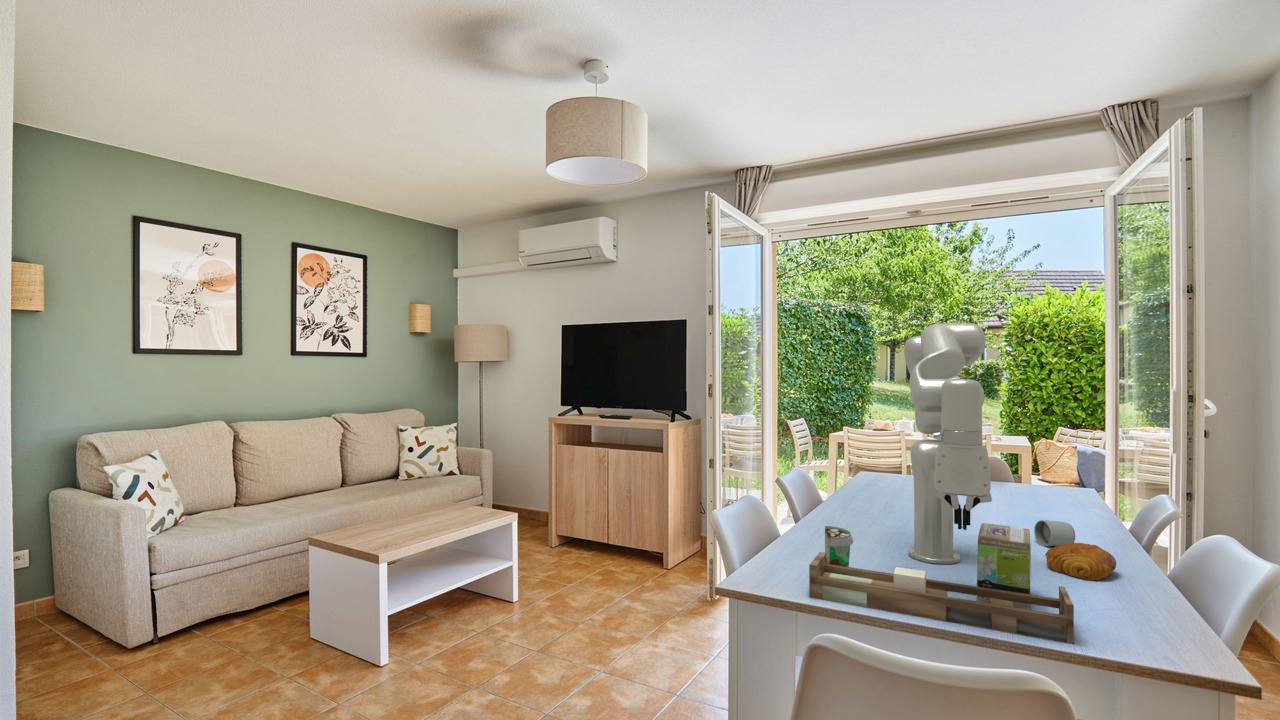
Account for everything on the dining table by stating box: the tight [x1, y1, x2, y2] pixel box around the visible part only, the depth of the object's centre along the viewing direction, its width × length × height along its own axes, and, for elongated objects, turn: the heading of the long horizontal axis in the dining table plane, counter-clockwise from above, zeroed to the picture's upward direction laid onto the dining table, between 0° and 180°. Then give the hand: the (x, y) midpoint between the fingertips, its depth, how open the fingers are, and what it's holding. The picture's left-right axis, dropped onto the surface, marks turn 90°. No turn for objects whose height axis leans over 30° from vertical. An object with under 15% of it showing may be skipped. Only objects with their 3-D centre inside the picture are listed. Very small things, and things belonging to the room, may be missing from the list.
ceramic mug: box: [1033, 519, 1076, 547], centre depth 176 cm, size 10×8×7 cm
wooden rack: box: [808, 551, 1075, 645], centre depth 127 cm, size 11×48×7 cm, turn 62°
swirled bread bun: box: [1045, 542, 1117, 581], centre depth 153 cm, size 14×16×8 cm
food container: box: [824, 525, 854, 567], centre depth 150 cm, size 12×6×10 cm, turn 168°
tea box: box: [976, 522, 1032, 610], centre depth 134 cm, size 15×10×15 cm, turn 148°
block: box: [893, 566, 927, 593], centre depth 129 cm, size 5×6×4 cm
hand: (962, 528), depth 125 cm, fingers closed
